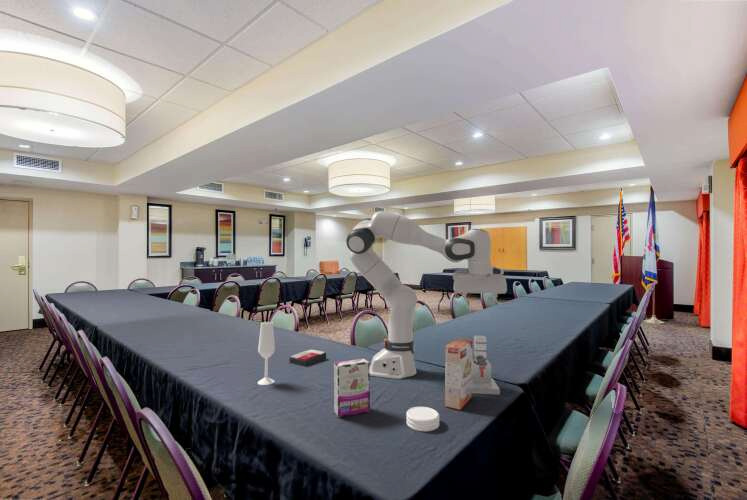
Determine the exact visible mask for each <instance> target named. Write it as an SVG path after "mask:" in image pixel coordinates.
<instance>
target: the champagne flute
mask: <svg viewBox="0 0 747 500" xmlns="http://www.w3.org/2000/svg"><path fill="white" fill-rule="evenodd" d="M274 333H275V331H274V322H271V321H263V322H261V323H260V329H259V339H258V345H257V346H258V348H257V352H258V354H259V355H260V356H261V357H262V358H263V359H264V377H263V378H262V379H260V380H258V381H257V384H258V385H260V386H264V385H265V386H266V385H267V386H268V385H271V384H274V383H275V380H274V379H272V378H270V377H269V375H268V374H269V373H268V372H269V358H270V357H272V355H273V354H274V352H275V351H276V346H275V345H276V343H275V334H274Z"/></svg>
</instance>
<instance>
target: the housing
mask: <svg viewBox="0 0 747 500" xmlns="http://www.w3.org/2000/svg"><path fill="white" fill-rule="evenodd" d="M472 394H476V395H478V394H479V395H496V396H497V395H498V396H500V395H501V389H500V387H499V386H498V384H497V383H496V381H495V380H494V378H492V364H491V363H490V362H489V360H488V359H487V360H486V359H485V358H479V364H474V359H472Z"/></svg>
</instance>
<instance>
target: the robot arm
mask: <svg viewBox="0 0 747 500" xmlns="http://www.w3.org/2000/svg"><path fill="white" fill-rule="evenodd" d="M379 238H383V239H386V240H389V241H391V242H393V243H394V242H395V243H398V244H402V245H410V246H419V247H423V248H426V249H429V250H432V251H434V252H437V253H438V254H441V255H442V256H443V257H444V258H445V259H447V260H448V261H449V262H451V263H460V262H462V261H464V260H467V269H456V270H454V271H453V272H452V280H453V281H454V282H453V288H452V289H453V291H454V293H456V294H462V297H463V299H464V300H465V305H466V306H467V305H468V306H469V305H470V304H471V303H470V299H468V298H467V295H468V294H492V299H489V305H490V306H495V303H496V302H495V301H496V299H497V298H498V295H501V294H504V295H505V294H506V293H507V291H508V287H507V286H508V283H507V279H506V277H505V276H504V274H505V273H504V269H503V268H499V267H497V266H496V265H495V266H493V265H492V260H491V254H492V253H491V252H492V245H491V244H492V243H491V235H490V233H489V232H488V231H487V230H484V229H480V228H471V229H469V230H468V231H466V232H464V233H462V234H460V235H458V236H454V237H452V238H450V239H449V238H448V239H447V238H443V237H441V236H437V235H435V234H432V233H429V232H428V231H426V230H424V229H423V228H422V227H421V226H419V224H418V223H416V222H415V221H414V220H411V219H410V218H408V217H406V216H403V215H402V214H401V215H400V214H397V213H394V212H389V211H382V210H379V211H376V212H374V214H373V215H372V216H371V218H370V217H368V218H364V219H362V220H361V221H359V222H358V223H357V224H356V225H354V227H353V228H352V229H351V231H349V233H348V234H347V237H346V246H347V248H348V250H350V253H349V254H350V255H349V260H350V261H351V262H352V265H354V267H355V269H357V271H358V272H359V273H360V274H361V275H362V277H364V278H365V280H367V282H368V283H369V284H370V285H371V286H372V287H373V288H374V289H375V290H376V291H377V292H378V294H380V296H381V297H382V298H383V299H384V300H385V301H386V302H387V304H388V305H390V312H389V319H388V328H387V329H388V330H387V331H388V334H387V336H388V337H387V338H385V339H384V340H383V348H382V349H381V350H379V351H378V352H377V353H376V354H374V355H373V357H372V359H371V362H370V376H371V377H378V378H387V379H396V380H402V379H405V378H408V377H413V376H415V375H416V374H417V373H418V371H417V369H416V365H415V357H414V352H415V341H414V319H415V318H414V317H415V312H416V306H417V304H418V295H417V293H416V292H415V291H414V289H413V288H411V287H410V286H407V285H404V283H402V281H401V280H400V279H399V278H398V277H397V275H396V274H395V272H394V271H393V270H392V269H391V268H390V266H389V265H388V264H386V262H385V261H384V260H382V258H381V257H380V256H379V255H378V254H377V253H376V251H374V247H373V246H374V245H375V244H376V241H377V240H378V239H379Z"/></svg>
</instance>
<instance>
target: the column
mask: <svg viewBox="0 0 747 500" xmlns="http://www.w3.org/2000/svg"><path fill="white" fill-rule="evenodd" d="M479 358H485V359H486V360H488V359H487V337H486V336H485V335H473V360H474V364H479Z"/></svg>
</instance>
